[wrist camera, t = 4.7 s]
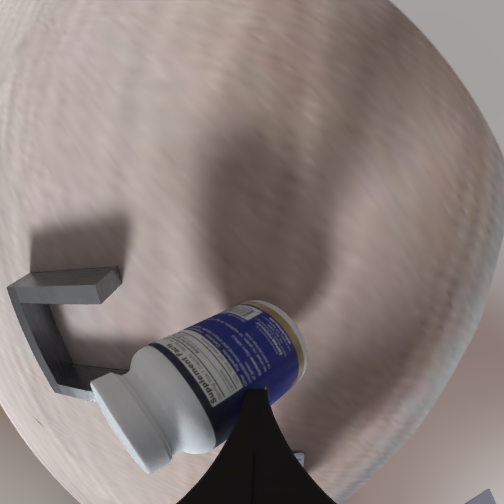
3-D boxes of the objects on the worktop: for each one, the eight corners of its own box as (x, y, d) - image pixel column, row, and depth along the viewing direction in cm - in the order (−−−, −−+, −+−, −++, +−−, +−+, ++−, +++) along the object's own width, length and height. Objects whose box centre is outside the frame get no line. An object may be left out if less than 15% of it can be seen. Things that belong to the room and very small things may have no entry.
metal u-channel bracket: (154, 383, 19) (143, 409, 16) (69, 372, 19) (54, 392, 16) (117, 266, 16) (95, 284, 13) (29, 273, 16) (6, 287, 14)
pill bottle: (282, 395, 16) (152, 484, 9) (226, 333, 18) (92, 395, 11) (331, 351, 13) (158, 483, 6) (256, 276, 15) (74, 345, 8)
